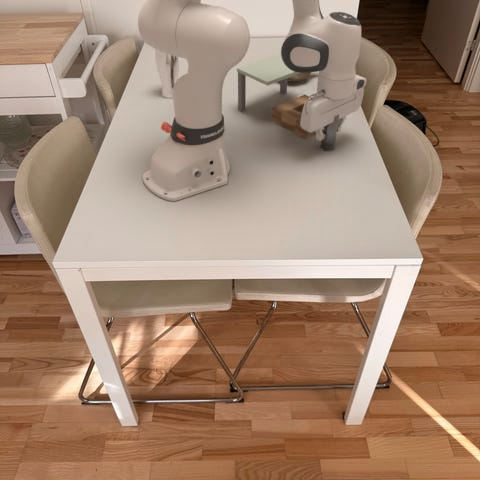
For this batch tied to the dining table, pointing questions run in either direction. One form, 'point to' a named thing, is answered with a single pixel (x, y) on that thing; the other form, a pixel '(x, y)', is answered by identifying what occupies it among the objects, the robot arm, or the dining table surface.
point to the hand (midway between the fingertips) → (328, 135)
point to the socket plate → (291, 116)
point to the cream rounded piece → (167, 72)
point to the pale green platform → (263, 76)
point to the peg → (329, 135)
